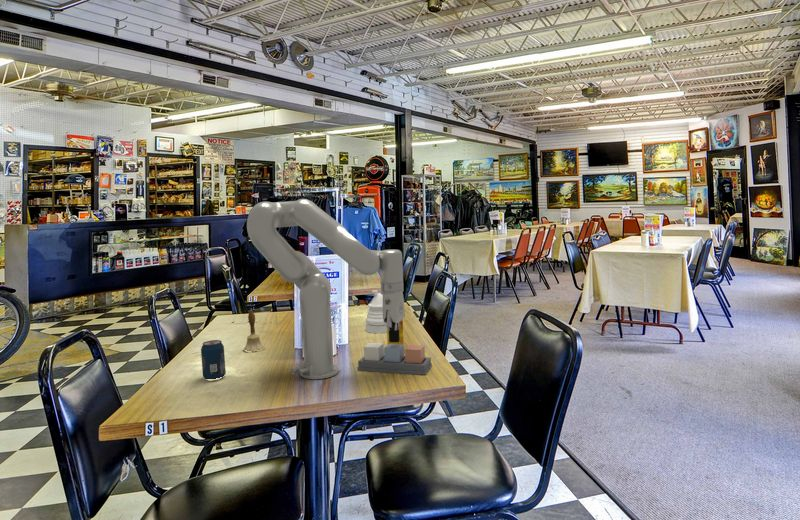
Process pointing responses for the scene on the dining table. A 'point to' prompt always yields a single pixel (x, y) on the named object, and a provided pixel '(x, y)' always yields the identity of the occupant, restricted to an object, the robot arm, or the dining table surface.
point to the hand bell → (253, 335)
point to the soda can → (213, 359)
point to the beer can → (399, 334)
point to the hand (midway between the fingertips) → (394, 341)
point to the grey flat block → (395, 366)
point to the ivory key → (374, 351)
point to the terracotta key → (415, 354)
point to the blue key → (394, 352)
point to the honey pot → (376, 315)
